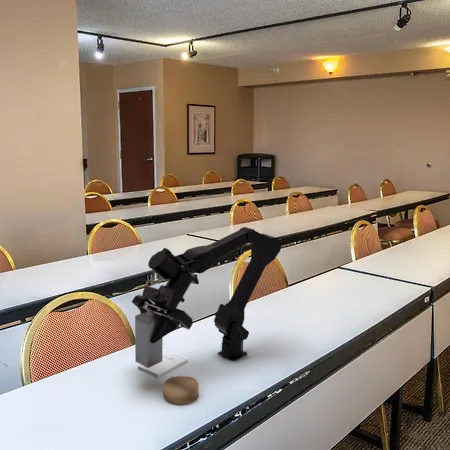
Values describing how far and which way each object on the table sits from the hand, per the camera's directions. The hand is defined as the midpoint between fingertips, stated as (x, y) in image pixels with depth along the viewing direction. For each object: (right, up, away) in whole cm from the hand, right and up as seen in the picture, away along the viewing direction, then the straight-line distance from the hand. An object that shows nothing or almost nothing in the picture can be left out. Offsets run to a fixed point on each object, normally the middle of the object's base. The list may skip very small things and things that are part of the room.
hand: (144, 339), depth 132 cm
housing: (+1, -6, +3) cm, 7 cm away
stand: (+9, -14, -1) cm, 17 cm away
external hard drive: (+3, -12, +15) cm, 19 cm away
